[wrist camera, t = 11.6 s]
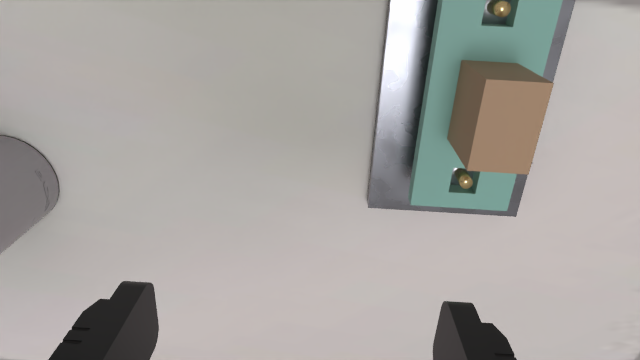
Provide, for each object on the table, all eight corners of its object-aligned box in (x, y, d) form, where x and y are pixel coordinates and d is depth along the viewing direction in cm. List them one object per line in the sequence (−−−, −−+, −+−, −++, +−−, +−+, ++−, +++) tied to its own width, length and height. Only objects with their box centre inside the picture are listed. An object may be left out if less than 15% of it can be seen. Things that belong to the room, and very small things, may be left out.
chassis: (367, 200, 44) (371, 236, 38) (397, -82, 34) (410, -92, 28) (510, 208, 44) (536, 246, 38) (585, -72, 34) (636, -80, 28)
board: (443, -35, 31) (472, -34, 24) (559, -28, 31) (621, -26, 24) (408, 196, 39) (422, 245, 32) (501, 202, 39) (535, 252, 32)
